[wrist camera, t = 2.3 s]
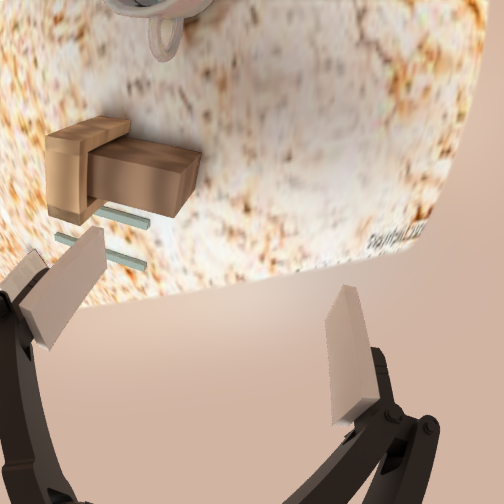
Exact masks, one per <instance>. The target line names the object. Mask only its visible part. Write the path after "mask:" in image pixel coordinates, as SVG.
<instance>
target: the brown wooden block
mask: <svg viewBox="0 0 504 504" xmlns="http://www.w3.org/2000/svg"><path fill="white" fill-rule="evenodd" d="M201 154H202V153H200V152H195V151H191V150H187V149H182V148H178V147H173V146H168V145H164V144H159V143H154V142H149V141H144V140H138V139H133V138H127V137H121V136H119V137H117V138H115V139H113V140H111V141H109V142H107V143H105V144H103V145H101V146H99V147H97V148H95V149H93V150H91V151H89V152H88V159H87V195H88V196H92V197H95V198H99V199H103V200H107V201H111V202H114V203H118V204H122V205H126V206H130V207H133V208H137V209H141V210H145V211H148V212H152V213H156V214H160V215H163V216H167V217H171V218H174V217H175V216H176V215H177V213H178V212H179V210H180V209H181V207H182V206H183V205H184V203H185V202H186V201H187V199H188V198H189V196H190V195H191V194H192V192H193V191H194V189H195V184H196V179H197V173H198V168H199V163H200V159H201Z"/></svg>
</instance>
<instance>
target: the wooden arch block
mask: <svg viewBox="0 0 504 504" xmlns="http://www.w3.org/2000/svg"><path fill="white" fill-rule="evenodd" d="M130 124H131V121H129V120H122V119H116V118H110V117H103V116H98V117H95V118H92V119H89V120H86V121H83V122H80V123H77V124H75V125H72V126H69V127H67V128H64V129H62V130H59V131H56V132H54V133H52V134H49V135H47V136H45V175H46V193H47V206H48V215H49V216H52V217H55V218H58V219H60V220H63V221H66V222H69V223H72V224H75V225H78V226H81V225H82V224H83V223H84V222H85V221H86V220H87V219H88V218H89V217H91V216H92V215H93V214H94V213H95V212H96V211H97V210H98V209H99V208H101V207H102V206H103V205H104V204H105V203H106V202H107V200H103V199H99V198H95V197H92V196H88V195H87V159H88V152H89V151H91V150H93V149H95V148H97V147H99V146H101V145H103V144H105V143H107V142H109V141H111V140H113V139H115V138H117V137H119V136H122V135H124V134H126V133H128V132H129V131H130Z"/></svg>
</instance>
